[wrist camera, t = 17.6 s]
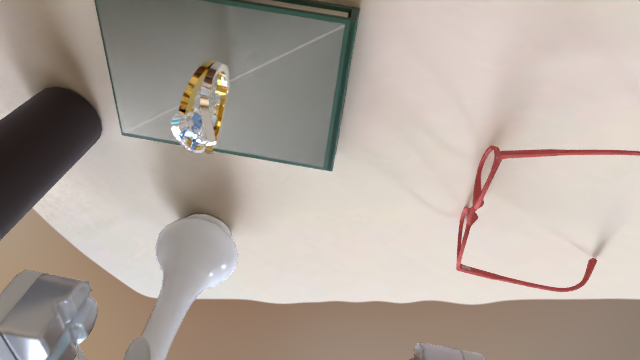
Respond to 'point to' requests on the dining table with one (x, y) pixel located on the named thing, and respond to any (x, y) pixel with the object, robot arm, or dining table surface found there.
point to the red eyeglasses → (479, 202)
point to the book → (235, 71)
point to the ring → (202, 109)
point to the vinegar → (41, 148)
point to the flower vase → (183, 278)
